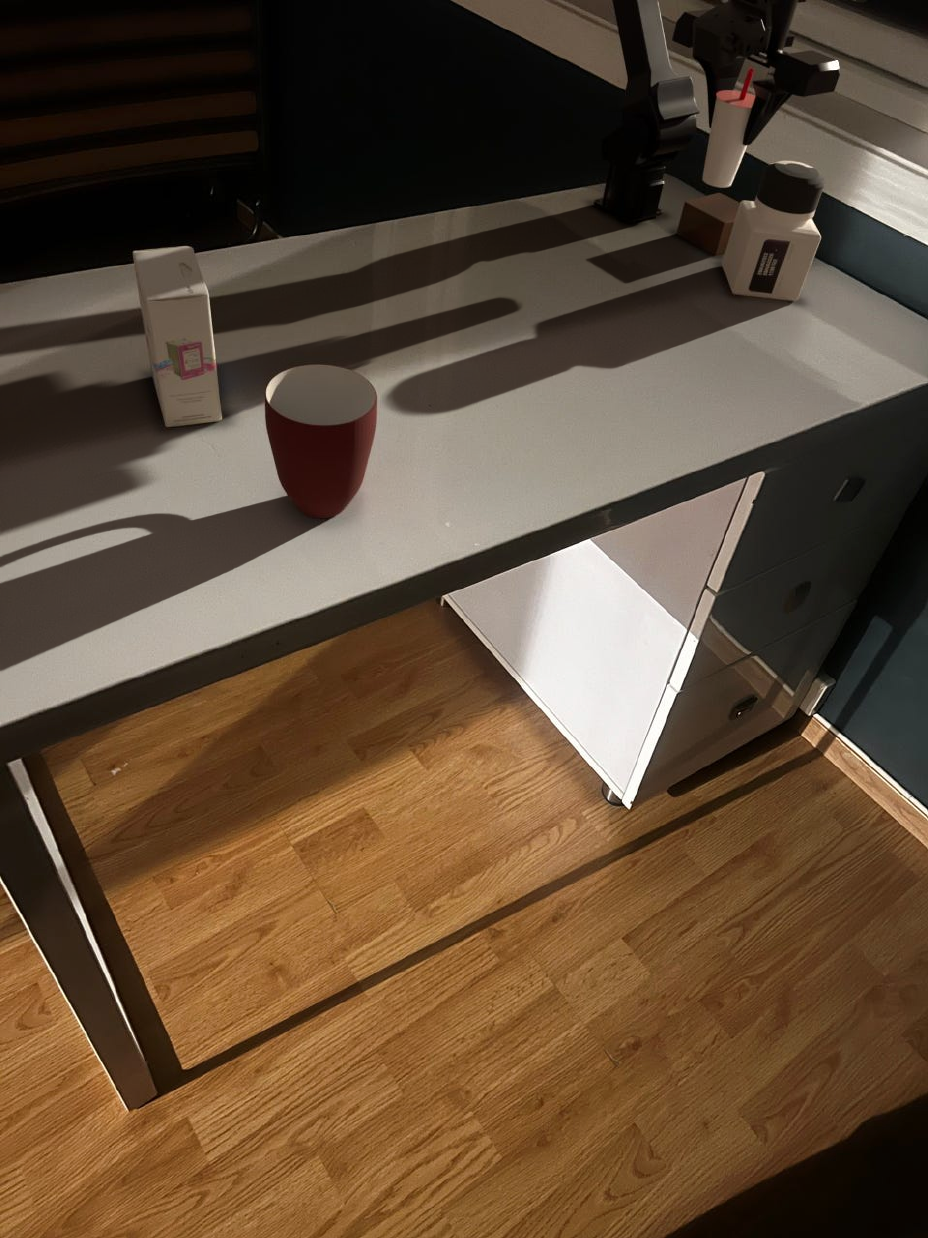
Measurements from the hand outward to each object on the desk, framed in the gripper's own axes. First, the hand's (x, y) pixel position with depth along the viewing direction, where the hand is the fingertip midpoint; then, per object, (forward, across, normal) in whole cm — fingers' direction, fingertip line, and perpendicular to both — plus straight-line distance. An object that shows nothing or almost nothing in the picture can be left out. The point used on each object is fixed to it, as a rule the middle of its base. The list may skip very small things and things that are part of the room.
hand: (729, 136), depth 109 cm
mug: (+13, +18, -65) cm, 69 cm away
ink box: (+13, +2, -67) cm, 69 cm away
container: (+13, +10, 0) cm, 16 cm away
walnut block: (+13, -1, +4) cm, 13 cm away
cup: (+5, 0, 0) cm, 5 cm away
